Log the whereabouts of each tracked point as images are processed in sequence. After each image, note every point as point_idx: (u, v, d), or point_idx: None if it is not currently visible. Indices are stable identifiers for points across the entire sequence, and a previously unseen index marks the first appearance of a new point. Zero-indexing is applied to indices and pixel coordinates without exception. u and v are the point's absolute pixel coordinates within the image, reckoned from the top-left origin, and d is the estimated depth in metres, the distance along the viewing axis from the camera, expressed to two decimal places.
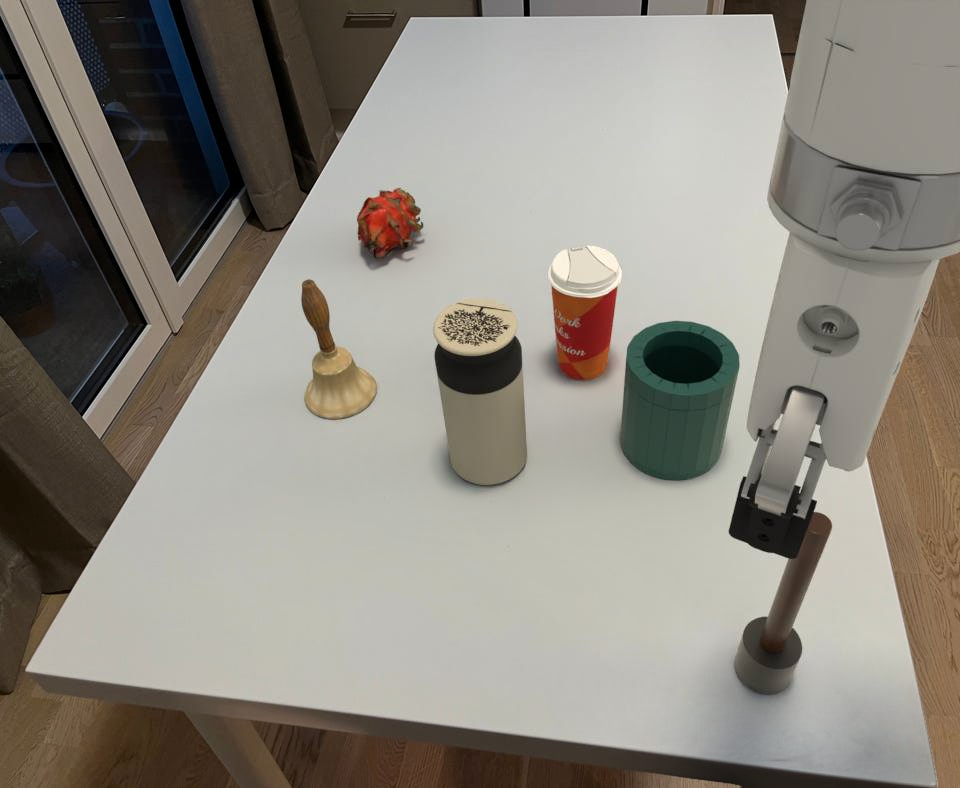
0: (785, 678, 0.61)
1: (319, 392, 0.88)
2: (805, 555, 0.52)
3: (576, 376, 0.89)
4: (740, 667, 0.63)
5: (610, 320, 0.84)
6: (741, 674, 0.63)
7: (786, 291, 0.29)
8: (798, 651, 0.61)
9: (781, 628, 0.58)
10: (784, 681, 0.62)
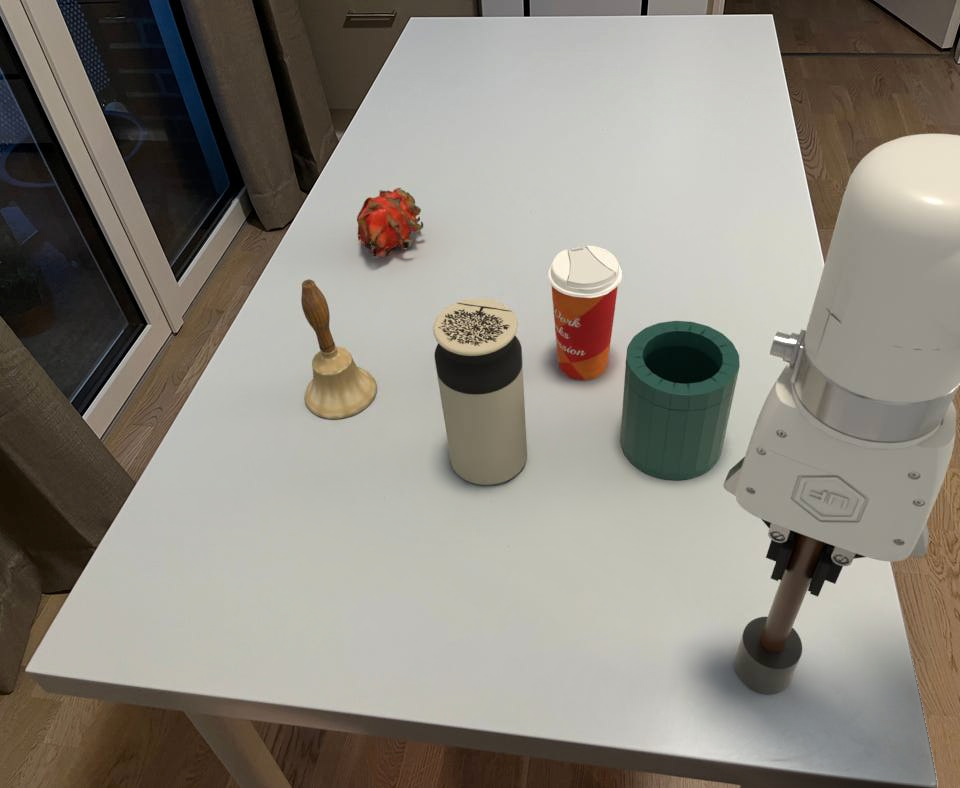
0: (785, 678, 0.61)
1: (319, 392, 0.88)
2: (805, 554, 0.52)
3: (576, 376, 0.89)
4: (740, 667, 0.63)
5: (610, 320, 0.84)
6: (741, 674, 0.63)
7: None
8: (798, 651, 0.61)
9: (781, 628, 0.58)
10: (784, 681, 0.62)
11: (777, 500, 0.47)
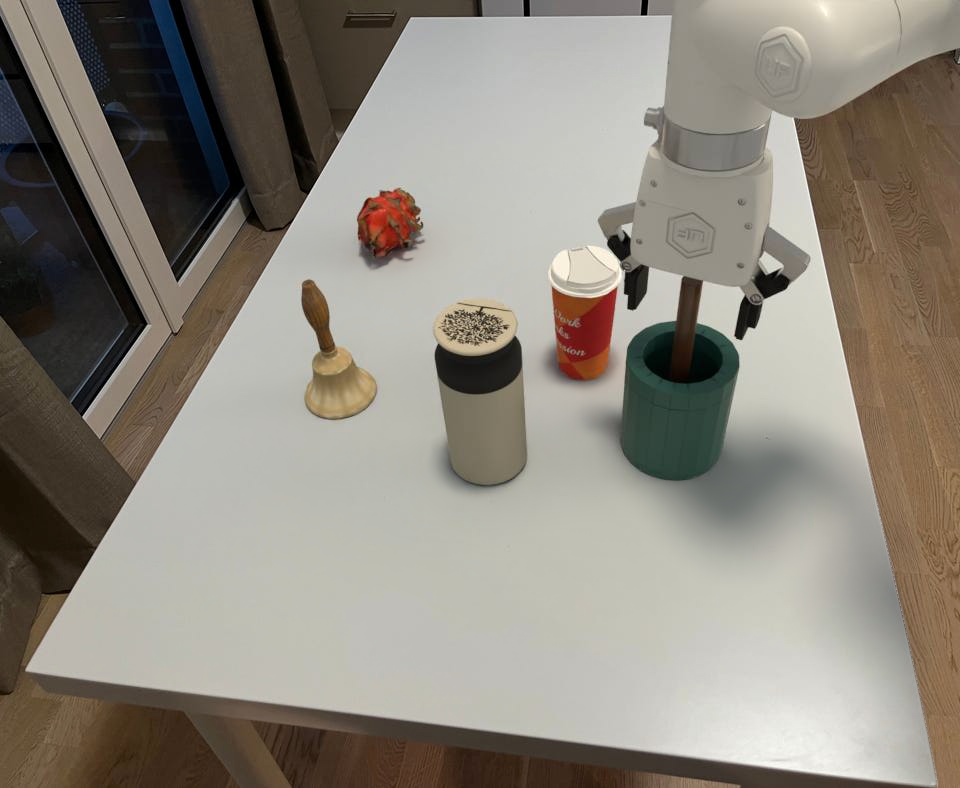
0: None
1: (319, 392, 0.88)
2: (685, 307, 0.69)
3: (576, 376, 0.89)
4: None
5: (610, 320, 0.84)
6: None
7: None
8: None
9: None
10: None
11: (657, 245, 0.64)
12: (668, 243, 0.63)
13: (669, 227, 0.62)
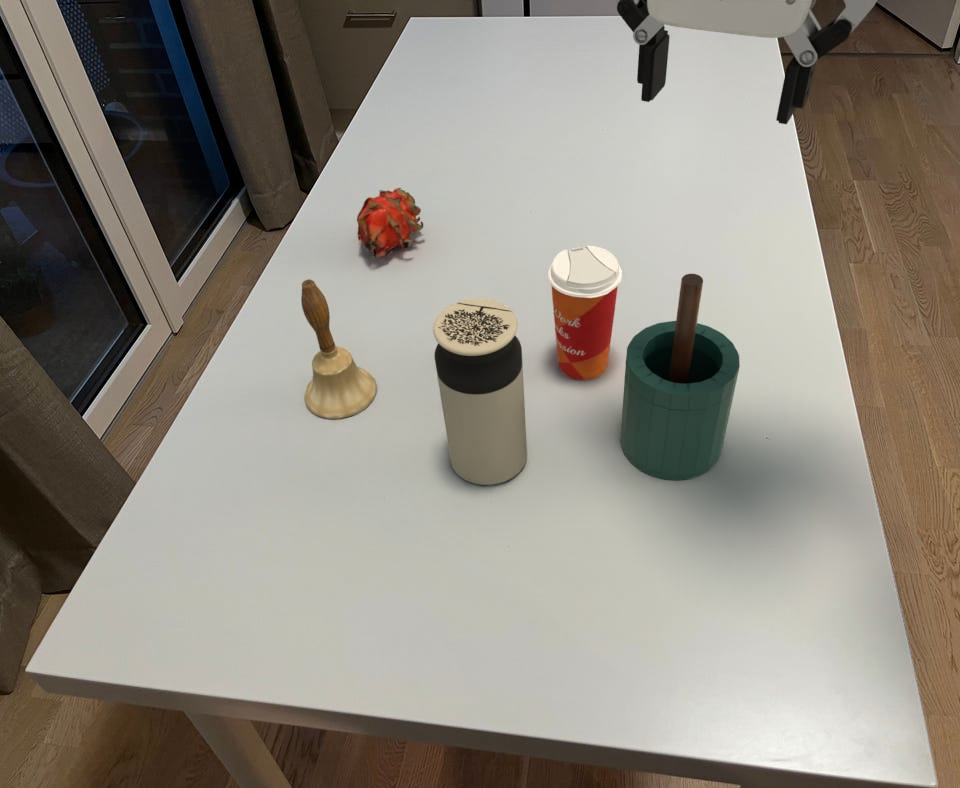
0: None
1: (319, 392, 0.88)
2: (685, 307, 0.69)
3: (576, 376, 0.89)
4: None
5: (610, 320, 0.84)
6: None
7: None
8: None
9: None
10: None
11: None
12: None
13: None
